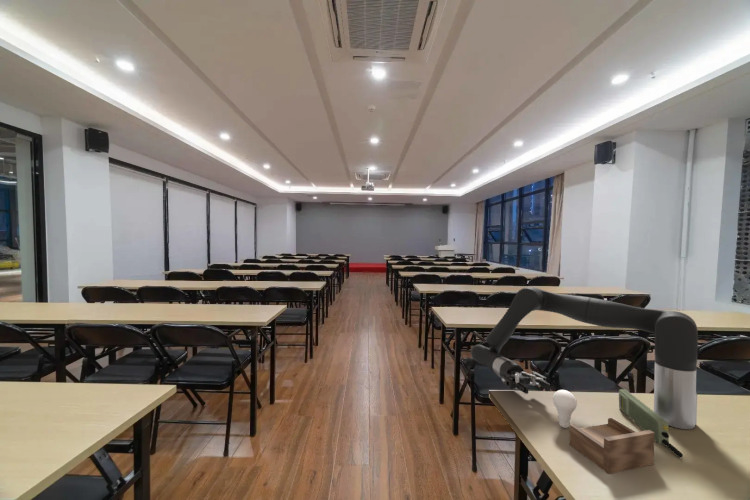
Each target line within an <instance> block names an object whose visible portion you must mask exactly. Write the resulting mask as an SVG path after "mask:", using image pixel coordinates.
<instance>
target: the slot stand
mask: <svg viewBox="0 0 750 500" xmlns="http://www.w3.org/2000/svg"><path fill="white" fill-rule="evenodd" d="M654 436H655V433H654V432H652V431H651V430H646V431H644V430H641V431H635V430H634V429H632V428H629V426H626V425H624V424H623V423H621V422H619V421H618V420H616V419H614V418H612V417H609V418H607V423H606V424H599V425H591V426H586V427H581V428H580V427H579V426H577V425H575V424H574V423H570V424H569V446H571V448H573V449H574V450H576V451H577V452H579V453H580V454H581V455H582V456H584V457H585V458H586V459H588V460H589V461H591V463H593V464H594V465H596V466H597V467H598V468H600V469H601V470H603V471H604V472H605V473H606V474H608V475H609V474H614V473H619V472H624V471H629V470H634V469H638V468H643V467H648V466H652V465H655V440H654Z"/></svg>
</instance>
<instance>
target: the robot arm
mask: <svg viewBox="0 0 750 500" xmlns="http://www.w3.org/2000/svg"><path fill="white" fill-rule="evenodd" d="M534 311H540V312H541V311H542V312H549V313H556V314H559V315H562V316H565V317H566V318H567V317H568V318H569V319H572V320H574V321H578V322H581V323H585V324H589V325H593V326H597V327H604V328H605V327H606V328H611V329H612V328H615V329H633V330H638V331H639V330H640V331H643V332H647V333H651V334H654V385H653V387H654V388H653V391H654V392H653V411H654V412H655V413H656V414H658V415H659V416H660V417H662V418H663V419H664V420H665V421H667V422H668V423H669V424H670V425H668V427H669V426H670V427H673V428H676V429H680V430H693V429H695V427H696V426H695V425H697V421H698V419H697V416H698V415H697V414H698V413H697V412H698V394H697V367H698V366H697V364H698V345H699V342H698V341H699V332H698V331H699V330H698V327H697V323H696V321H695V320H694V319H693V318H692V317H691V316H689V315H688V314H686V313H684V312H680V311H673V310H665V309H653V308H652V309H651V308H645V307H638V306H633V305H628V304H624V303H619V302H616V301H611V300H605V299H601V298H596V297H590V296H582V295H569V294H561V293H555V292H552V291H549V290H544V289H541V288H538V287H532V286H531V287H529V286H528V287H523V288H521V289H519V290H518V291H517V292H516V294H515V296H514V298H513V299H512V302H511V304H510V305H509V306H508V308H507V310H506V312H505V314H503V316H502V317H501V319H500V320H499V321H498V322H497V324H496V325H495V326H494V328H492V330H491V331H490V332H489V333H488V335H487V336H486V338H485V341H486V343H487V344H488V346H489V347H487V346H484V345H482V344H475V345H473V346H472V348H471V350H470V356H471V359H473V360H474V361H475V362H477V363H478V364H480V365H483V366H485V367H486V368H488V369H489V370H491V371H492V372H493V373H495V374H496V375H497V376H498V377H499V378H501V383H502V384H504V386H506V387H507V388H508V389H510V390H514V389H516V390H519V391H520V392H522V393H524V394H525V395H528V394H529V387H528V386H527V385H529V386H532V387H533V386H534V387H535V386H538V387H540V388H541V389H544V390H546V391H547V392H550V391H551V387H552V386H551V384H550V383H549V382H547V377H546V376H544V375H542V374H540V373H538V372H536V371H533V370H532V371H531V373H530V372H529V373H528V372H526V371H525V370H524V368H523V367H522V366H521V365H520V364H518V363H516V362H514V361H512V360H511V359H509V358H507V357H504V356H503V355H501V354H500V352H501V351H502V348H503V346H505V344H506V343H507V342H508V341H509V340H510V338H511V337H512V336H513V333H514V332H515V330H516V328H517V327H518V325H519V324H520V323H521V321H523V319H524V318H525V317H526V316H527V315H529V314H530V313H532V312H534ZM531 379H532V381H531Z"/></svg>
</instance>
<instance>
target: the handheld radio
mask: <svg viewBox="0 0 750 500" xmlns="http://www.w3.org/2000/svg"><path fill="white" fill-rule="evenodd" d="M618 407H619V410H621V412H623V413H624V414H625V415H626V416H627V417H629V419H631V420H632V421H633V422H634V424H636V425H637V426H639V427H640V429H642V431H646V430H651V431H652V432H654V433H655V436H654V442H656V443H657V444H658V445H660V446H666V447H667V448H668V450H670V451H671V452H672V453H673V454H674V455H676V457H677V458H682V457H683V453H682V452H681V451H679V449H678V448H676V447H675V446H674V445H673V444H672V443H670V441H669V440H670V433H669V425H670V424H669V423H668V422H667V421H665V420H664V419H663V418H662V417H660V416H659V415H658V414H656V413H655V412H654V409H651V407H648V405H646V404H645V403H643V402H642V401H641V400H640V399H638V398H637V397H636V396H635V395H633V394H632V393H631V392H629V391H628V390H627V389H624V388H623V389H622V388H621V389H619V390H618Z"/></svg>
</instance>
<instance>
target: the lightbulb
mask: <svg viewBox="0 0 750 500" xmlns="http://www.w3.org/2000/svg"><path fill="white" fill-rule="evenodd" d="M552 402H553V404H554V407H555V408H556V410H557V414H558V415H557V417H558V420H559V421H558V422H559V426H560V427H562V428H564V429H567V428H570V425H571V423H570V421H571V420H572V419H571V418H572V414H573V412H575V410H576V408H577V407H578V406H577V405H578V403H577V398H576V397H575V395H574V394H573V393H572V392H570V391H568V390H566V389H558V390H557V391H555V392H554V394H553V397H552Z"/></svg>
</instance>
